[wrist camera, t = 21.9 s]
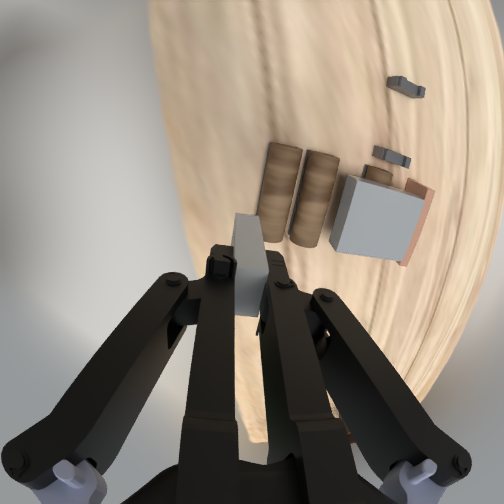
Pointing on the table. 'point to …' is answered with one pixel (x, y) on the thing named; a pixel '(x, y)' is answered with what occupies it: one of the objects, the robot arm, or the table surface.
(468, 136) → the table surface
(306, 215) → the roller
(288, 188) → the roller
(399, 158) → the rack
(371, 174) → the roller
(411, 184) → the block
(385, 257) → the slab
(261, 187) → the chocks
